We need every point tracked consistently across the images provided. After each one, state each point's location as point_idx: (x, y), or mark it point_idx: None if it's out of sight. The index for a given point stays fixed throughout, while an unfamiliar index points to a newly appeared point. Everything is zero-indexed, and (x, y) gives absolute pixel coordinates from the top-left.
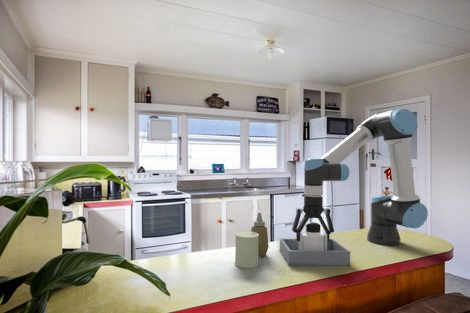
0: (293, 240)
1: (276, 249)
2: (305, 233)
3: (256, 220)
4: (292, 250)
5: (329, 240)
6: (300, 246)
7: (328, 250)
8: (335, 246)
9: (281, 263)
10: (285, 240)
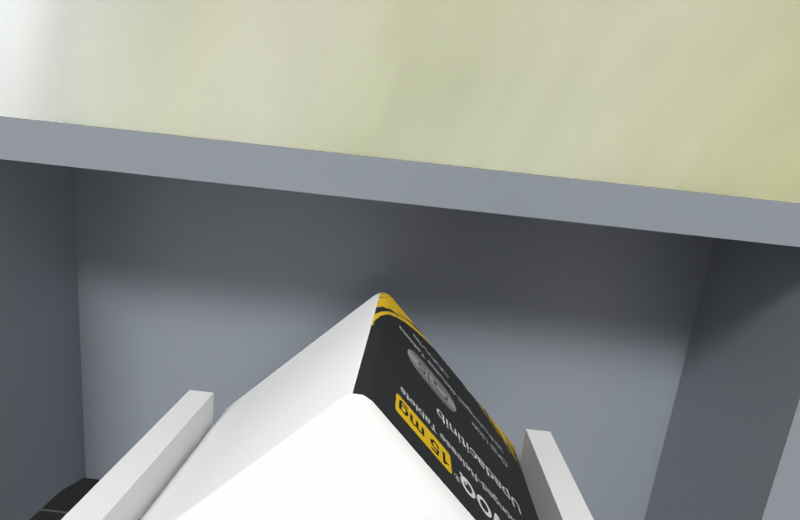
0: (145, 172)
1: (27, 55)
2: (207, 517)
3: None
4: (196, 196)
5: (788, 244)
6: None
7: (665, 242)
8: (742, 394)
9: None
10: (5, 159)
